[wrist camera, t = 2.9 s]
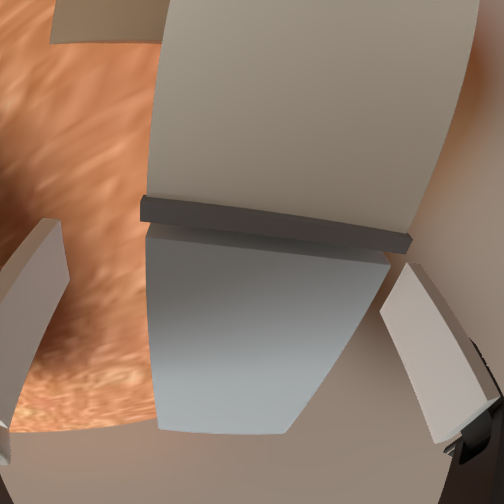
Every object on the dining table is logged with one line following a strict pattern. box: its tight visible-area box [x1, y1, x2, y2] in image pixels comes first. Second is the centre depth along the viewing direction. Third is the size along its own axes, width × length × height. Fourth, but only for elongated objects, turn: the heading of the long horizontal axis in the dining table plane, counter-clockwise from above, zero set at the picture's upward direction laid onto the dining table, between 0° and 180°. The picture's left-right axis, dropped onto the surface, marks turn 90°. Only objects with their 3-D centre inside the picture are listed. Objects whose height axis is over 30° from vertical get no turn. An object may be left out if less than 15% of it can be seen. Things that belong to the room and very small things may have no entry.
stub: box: [146, 223, 391, 434], centre depth 11 cm, size 4×7×12 cm, turn 169°
